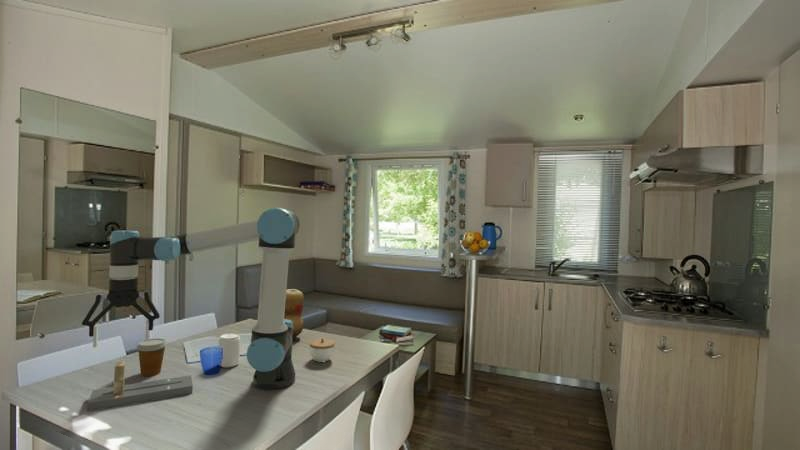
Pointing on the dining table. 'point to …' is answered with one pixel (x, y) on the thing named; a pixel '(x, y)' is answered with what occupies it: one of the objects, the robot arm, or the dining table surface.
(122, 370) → the beige tall block
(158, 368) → the disposable coffee cup
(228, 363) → the white lidded canister
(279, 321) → the robot arm
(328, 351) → the lidded jar
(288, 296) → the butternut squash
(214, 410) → the dining table surface
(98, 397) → the fader console
